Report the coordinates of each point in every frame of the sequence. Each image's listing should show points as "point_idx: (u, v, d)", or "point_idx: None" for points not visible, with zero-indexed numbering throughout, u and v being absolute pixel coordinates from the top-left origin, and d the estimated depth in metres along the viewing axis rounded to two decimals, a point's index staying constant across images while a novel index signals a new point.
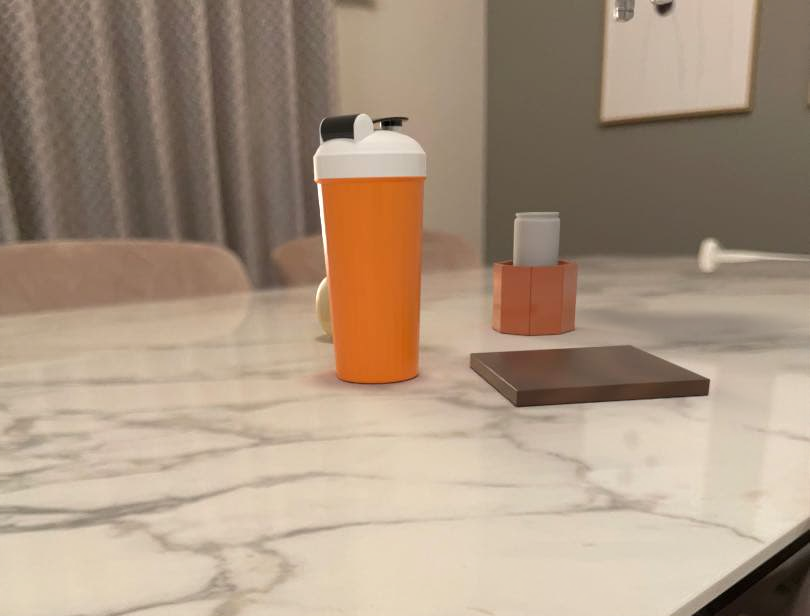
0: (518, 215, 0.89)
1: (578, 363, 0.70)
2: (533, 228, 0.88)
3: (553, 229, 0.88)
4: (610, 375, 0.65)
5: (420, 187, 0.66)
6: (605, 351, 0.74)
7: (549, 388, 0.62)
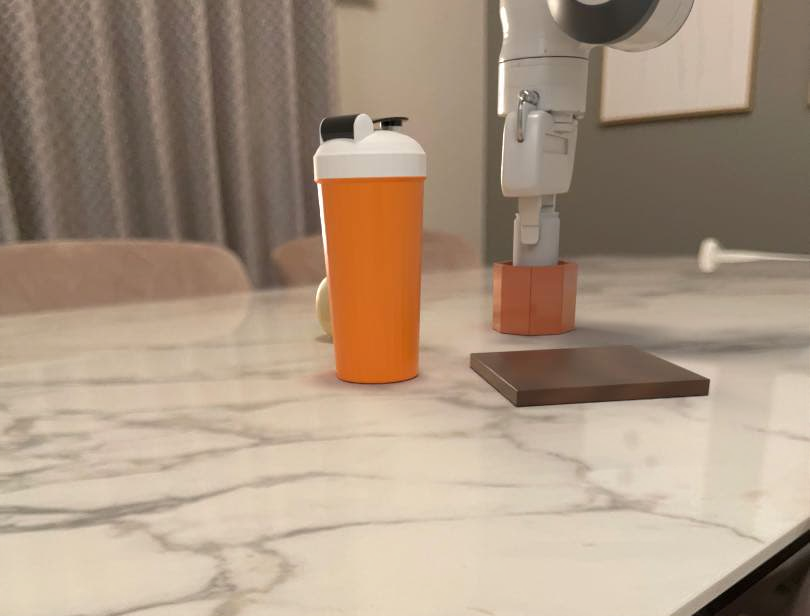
0: (518, 215, 0.88)
1: (578, 363, 0.70)
2: None
3: (553, 229, 0.88)
4: (610, 375, 0.65)
5: (420, 187, 0.66)
6: (605, 351, 0.74)
7: (549, 388, 0.62)
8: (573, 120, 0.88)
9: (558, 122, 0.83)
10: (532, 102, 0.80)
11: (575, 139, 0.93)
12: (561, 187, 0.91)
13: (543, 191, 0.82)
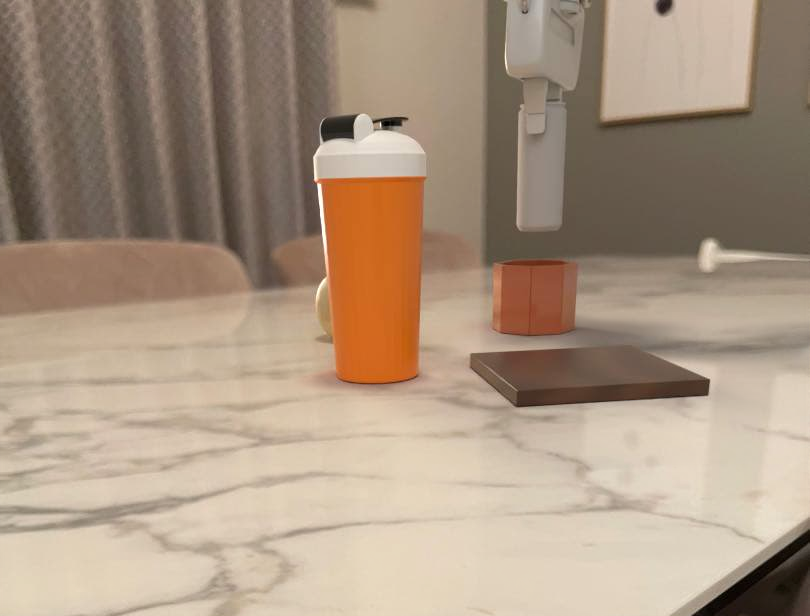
0: (522, 106, 0.84)
1: (578, 363, 0.70)
2: None
3: (560, 119, 0.84)
4: (610, 375, 0.65)
5: (420, 187, 0.66)
6: (605, 351, 0.74)
7: (549, 388, 0.62)
8: (580, 4, 0.84)
9: (564, 0, 0.79)
10: None
11: (582, 31, 0.89)
12: (568, 79, 0.87)
13: (549, 71, 0.78)
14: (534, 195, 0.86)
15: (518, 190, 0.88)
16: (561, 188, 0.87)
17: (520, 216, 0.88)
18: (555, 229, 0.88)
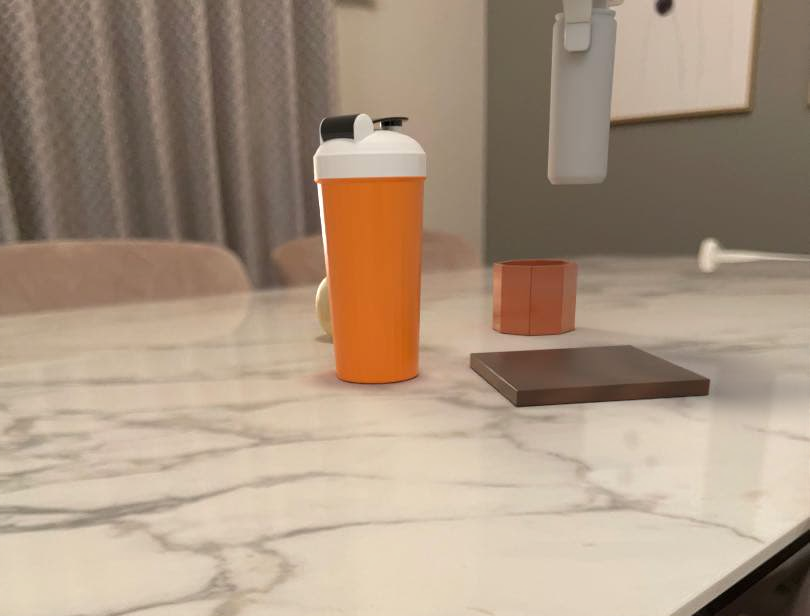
0: (559, 15, 0.64)
1: (578, 363, 0.70)
2: None
3: (608, 33, 0.63)
4: (610, 375, 0.65)
5: (420, 187, 0.66)
6: (605, 351, 0.74)
7: (549, 388, 0.62)
8: None
9: None
10: None
11: None
12: None
13: None
14: (572, 135, 0.66)
15: (551, 129, 0.67)
16: (607, 127, 0.67)
17: (553, 163, 0.68)
18: (598, 181, 0.68)
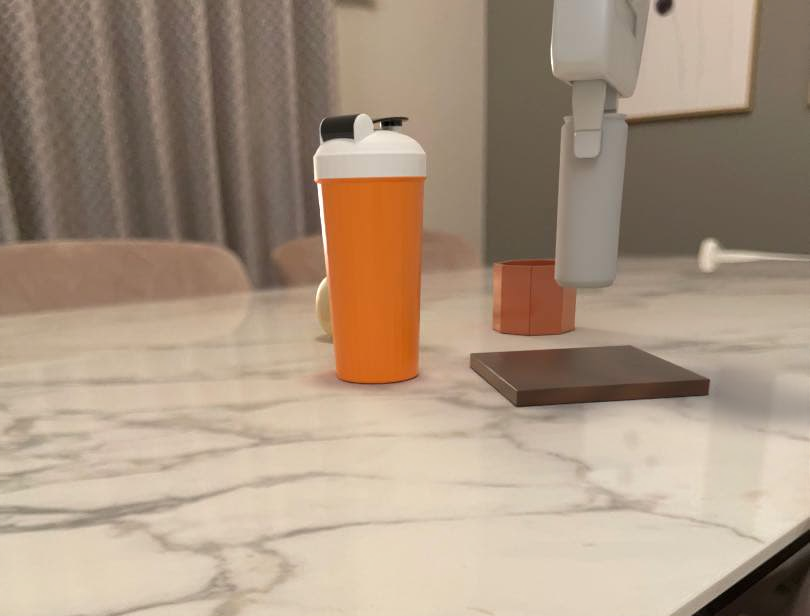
0: (568, 118, 0.61)
1: (578, 363, 0.70)
2: None
3: (619, 137, 0.61)
4: (610, 375, 0.65)
5: (420, 187, 0.66)
6: (605, 351, 0.74)
7: (549, 388, 0.62)
8: None
9: None
10: None
11: (646, 17, 0.66)
12: (628, 82, 0.64)
13: (612, 71, 0.55)
14: (581, 239, 0.63)
15: (558, 232, 0.65)
16: (617, 230, 0.64)
17: (560, 266, 0.65)
18: (607, 285, 0.65)
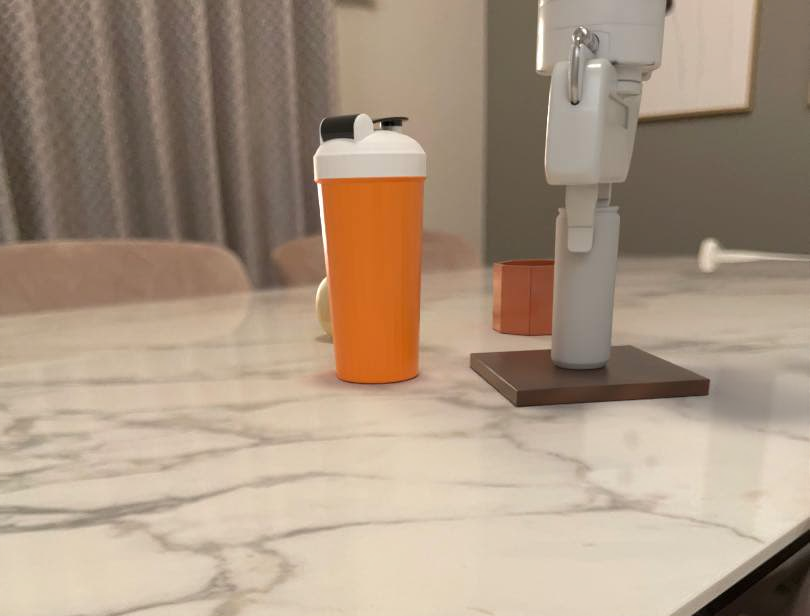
0: (562, 211, 0.64)
1: None
2: None
3: (612, 229, 0.63)
4: (610, 375, 0.65)
5: (420, 187, 0.66)
6: None
7: (549, 388, 0.62)
8: None
9: (624, 80, 0.59)
10: (590, 48, 0.55)
11: (638, 109, 0.68)
12: (620, 174, 0.66)
13: (603, 177, 0.57)
14: (576, 324, 0.66)
15: (554, 315, 0.67)
16: (611, 314, 0.66)
17: (557, 348, 0.68)
18: (602, 365, 0.68)
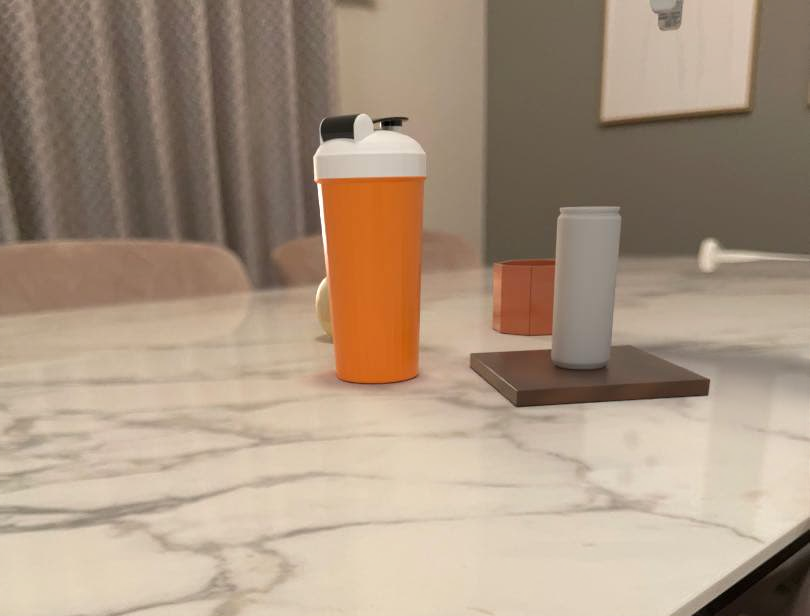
0: (563, 210, 0.64)
1: None
2: (586, 229, 0.63)
3: (613, 230, 0.63)
4: (610, 375, 0.65)
5: (420, 187, 0.66)
6: None
7: (549, 388, 0.62)
8: None
9: None
10: None
11: None
12: None
13: None
14: (577, 324, 0.66)
15: (554, 315, 0.67)
16: (611, 315, 0.66)
17: (557, 348, 0.68)
18: (602, 366, 0.68)
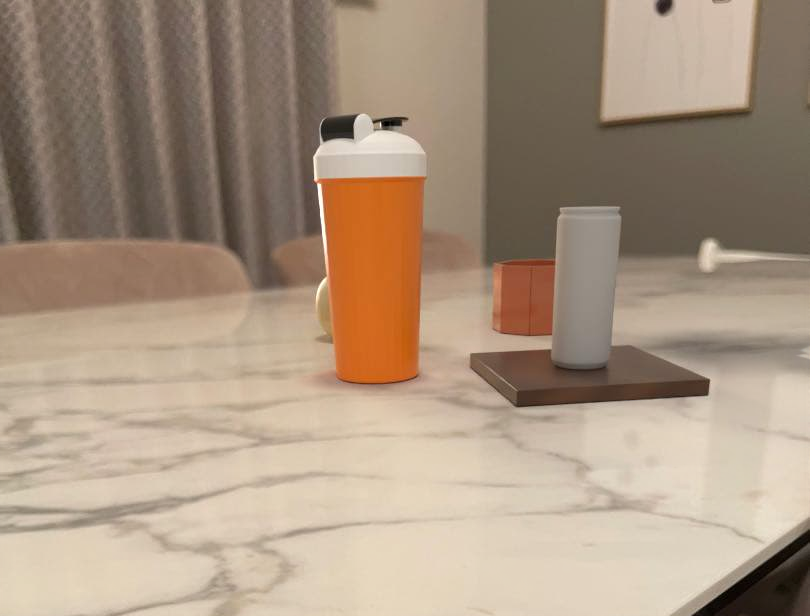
0: (563, 210, 0.64)
1: None
2: (586, 229, 0.63)
3: (613, 230, 0.63)
4: (610, 375, 0.65)
5: (420, 187, 0.66)
6: None
7: (549, 388, 0.62)
8: None
9: None
10: None
11: None
12: None
13: None
14: (577, 324, 0.66)
15: (554, 315, 0.67)
16: (611, 315, 0.66)
17: (557, 348, 0.68)
18: (602, 366, 0.68)
